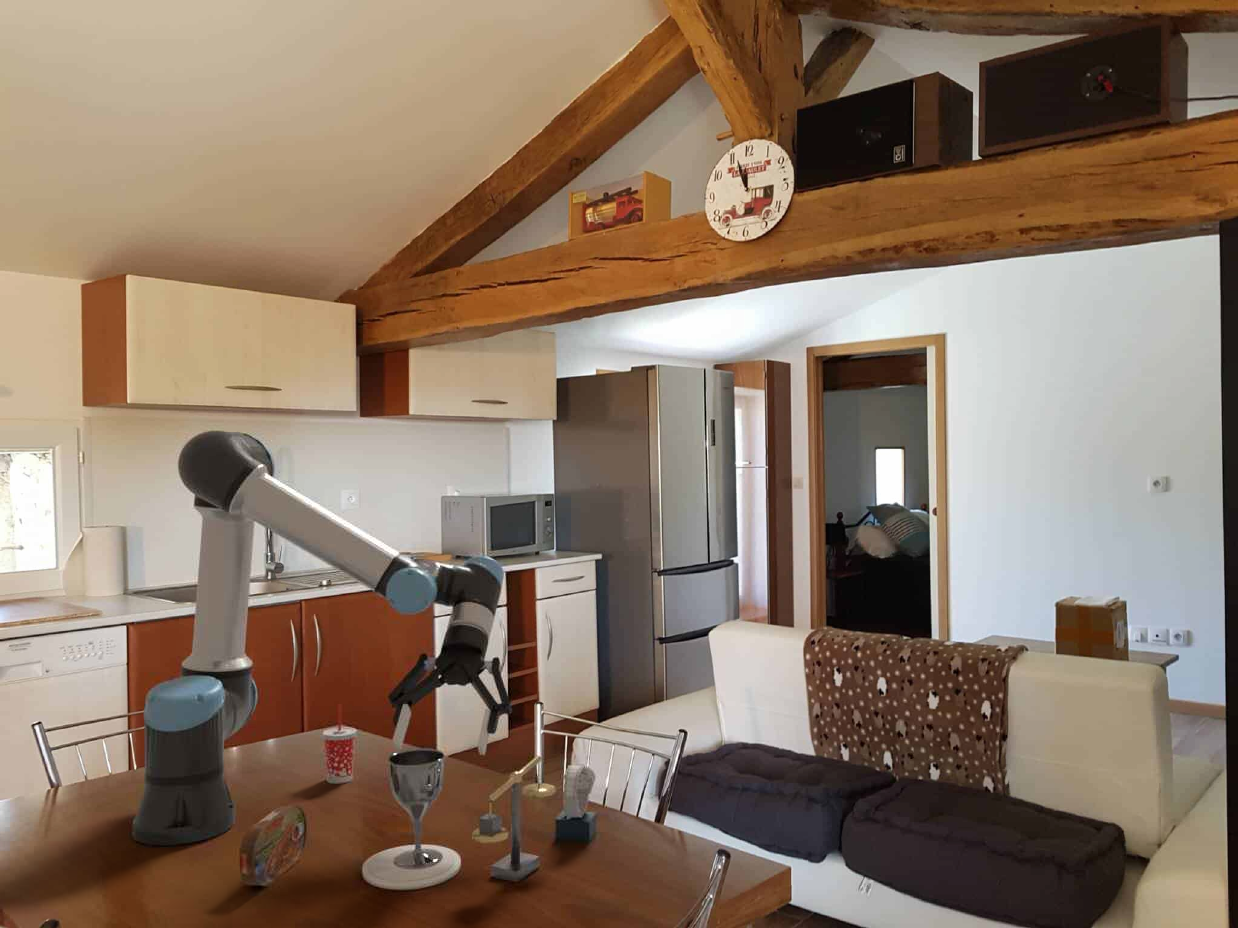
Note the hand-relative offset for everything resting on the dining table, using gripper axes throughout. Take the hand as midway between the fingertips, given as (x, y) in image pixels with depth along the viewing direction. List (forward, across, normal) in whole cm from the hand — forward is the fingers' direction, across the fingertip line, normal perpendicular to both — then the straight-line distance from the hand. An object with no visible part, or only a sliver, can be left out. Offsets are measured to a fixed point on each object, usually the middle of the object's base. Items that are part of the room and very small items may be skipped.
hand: (438, 747), depth 151 cm
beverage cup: (-8, +27, -30) cm, 41 cm away
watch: (+7, -21, -13) cm, 26 cm away
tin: (+21, +20, -1) cm, 29 cm away
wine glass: (+17, 0, -3) cm, 17 cm away
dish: (+18, 0, -3) cm, 18 cm away
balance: (+17, -15, -3) cm, 23 cm away
